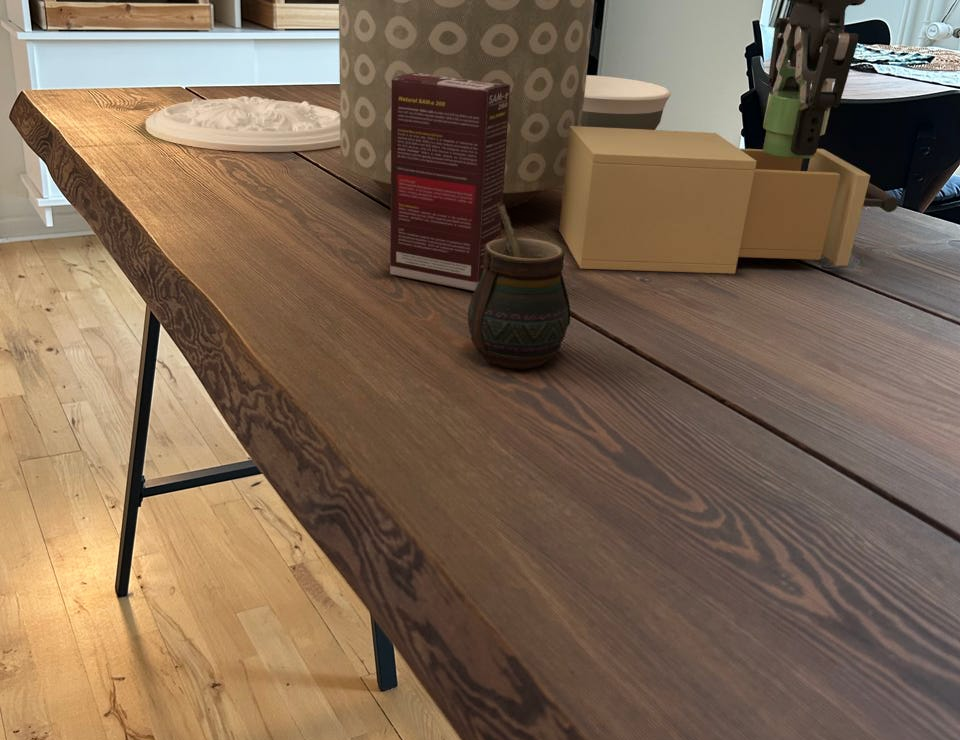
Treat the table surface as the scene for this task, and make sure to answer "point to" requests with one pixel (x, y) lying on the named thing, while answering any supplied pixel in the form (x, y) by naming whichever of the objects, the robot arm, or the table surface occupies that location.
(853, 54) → the robot arm
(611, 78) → the bowl
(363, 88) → the planter
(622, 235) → the cabinet
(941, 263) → the table surface
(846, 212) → the drawer
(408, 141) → the supplement box
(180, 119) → the ceiling medallion
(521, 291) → the mate gourd
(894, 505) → the table surface
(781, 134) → the green stepped cylinder
